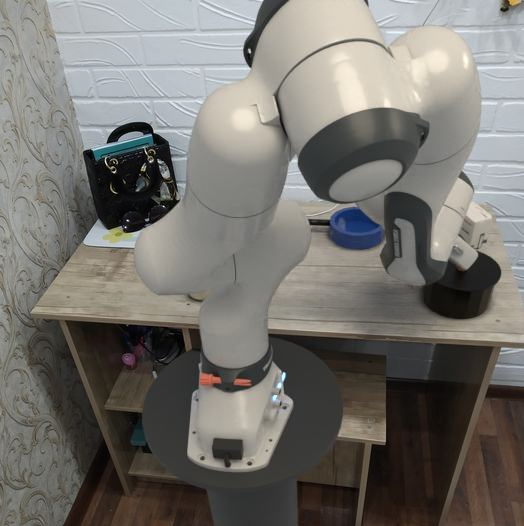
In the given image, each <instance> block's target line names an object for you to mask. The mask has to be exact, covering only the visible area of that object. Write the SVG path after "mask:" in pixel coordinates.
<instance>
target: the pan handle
mask: <svg viewBox="0 0 524 526" xmlns="http://www.w3.org/2000/svg"><path fill="white" fill-rule="evenodd" d="M308 221H309V224H310V226H313V227H314V226H315V227H316V226H317V227H330V219H325V218H324V219H321V218H318V219H317V218H308Z"/></svg>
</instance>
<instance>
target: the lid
mask: <svg viewBox="0 0 524 526" xmlns="http://www.w3.org/2000/svg"><path fill="white" fill-rule="evenodd" d="M475 251H476V250H475ZM476 252H477V253H478V257H477V259H476V260H475V262H474V263H473V264H472V265H471V266H470V267H469V268H468V269H467V270H464V269H462V268H460V267H458V266H457V265H455V264H454V263H452V262H451V261H449V260H448V264H447V267H446V270H445V273H444V276H443V277H442V278H440V279H439V280H437V281H435V282H434V283H436V284H437V285H439V286H441V287H444V288H446V289H450V290H454V291H459V292H478V291H483V290H486V289H489V288H491V287H493V286H494V285H495V286H497V284H498V283H499V282H500V280H501V277H502V269H501V266H500V264H499V262H497V260H495V259H494V258H493V257H492V256H491V255H488V254H486V253H485V252H484V253H482V252H479V251H476ZM495 286H494V287H495Z"/></svg>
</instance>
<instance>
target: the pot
mask: <svg viewBox="0 0 524 526" xmlns="http://www.w3.org/2000/svg"><path fill="white" fill-rule="evenodd" d="M495 286H496V285H494V286H493V287H491V288H489V289H486V290H483V291H478V292H459V291H454V290H450V289H446V288H444V287H441V286H439V285H437V284H436V283H434V282H433V283H431V284H429V285H426V286H422V300H423V302H424V304H425V305H426V308H428V309H430V311H432V312H434V313H435V314H437V315H439V316H442V317H445V318H449V319H455V320H467V319H468V320H469V319H473V318H476V317H479V316H481V315H482V314H484V313H485V312H486V311H487V310H488V307H489V306H490V303H491V300H492V297H493V293H494V289H495Z"/></svg>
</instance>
